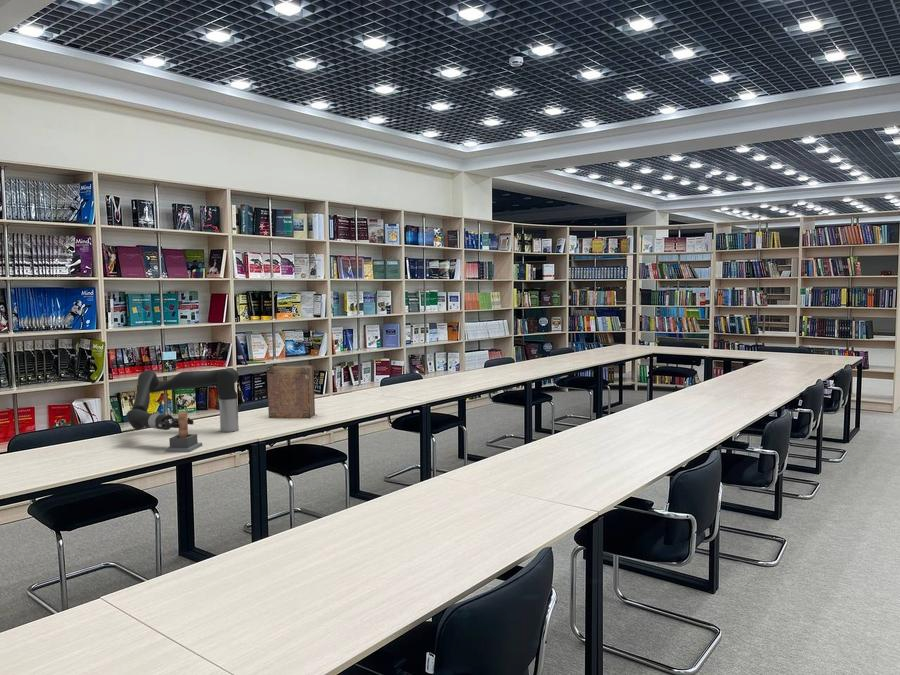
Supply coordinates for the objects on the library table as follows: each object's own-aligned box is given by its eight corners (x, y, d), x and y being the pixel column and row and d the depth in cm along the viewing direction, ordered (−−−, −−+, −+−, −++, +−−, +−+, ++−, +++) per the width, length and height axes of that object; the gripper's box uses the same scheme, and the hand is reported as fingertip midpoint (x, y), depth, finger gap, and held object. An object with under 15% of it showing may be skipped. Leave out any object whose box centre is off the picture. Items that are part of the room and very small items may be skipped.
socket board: (178, 445, 309) (178, 433, 309) (202, 445, 308) (201, 433, 308) (165, 451, 298) (164, 439, 297) (189, 452, 296) (189, 439, 296)
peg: (181, 444, 305) (180, 411, 304) (189, 444, 305) (188, 411, 303) (177, 446, 301) (176, 413, 300) (185, 446, 301) (184, 413, 299)
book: (315, 415, 381) (313, 365, 378) (309, 418, 371) (308, 367, 369) (274, 414, 384) (273, 365, 382) (268, 417, 375) (266, 367, 373)
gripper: (173, 426, 315) (197, 428, 308) (148, 432, 302) (174, 435, 295) (172, 411, 314) (197, 413, 307) (148, 416, 301) (173, 419, 294)
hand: (185, 424), depth 301 cm, fingers open, 8 cm apart
